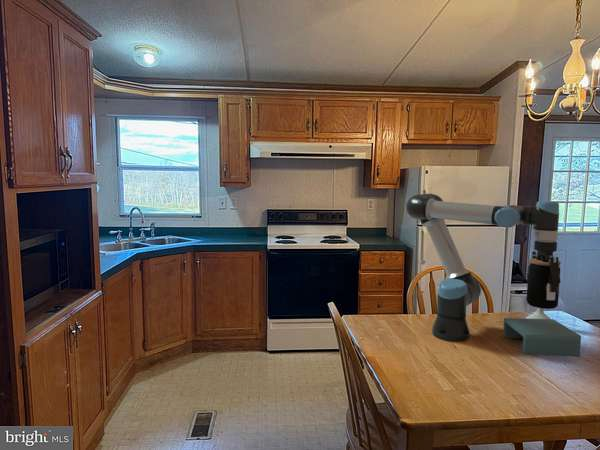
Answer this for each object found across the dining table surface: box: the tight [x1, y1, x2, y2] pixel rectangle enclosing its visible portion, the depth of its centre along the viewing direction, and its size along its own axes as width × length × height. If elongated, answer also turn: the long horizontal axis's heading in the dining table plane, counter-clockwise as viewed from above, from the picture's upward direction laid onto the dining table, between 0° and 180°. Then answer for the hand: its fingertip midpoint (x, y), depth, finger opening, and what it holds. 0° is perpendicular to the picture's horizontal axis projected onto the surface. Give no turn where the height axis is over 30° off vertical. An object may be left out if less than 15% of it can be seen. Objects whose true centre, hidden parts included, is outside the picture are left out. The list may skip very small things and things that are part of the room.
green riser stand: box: [502, 317, 582, 357], centre depth 153 cm, size 20×18×8 cm
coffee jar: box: [526, 258, 562, 310], centre depth 150 cm, size 11×11×18 cm
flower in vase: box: [525, 307, 551, 319], centre depth 175 cm, size 13×11×25 cm
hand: (542, 295), depth 151 cm, fingers closed on coffee jar, 11 cm apart
